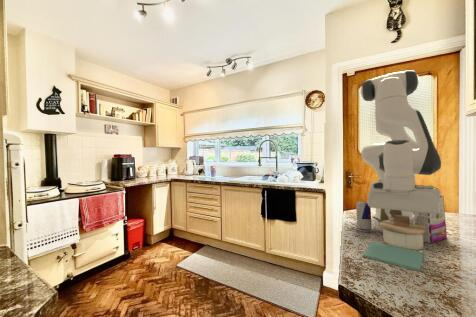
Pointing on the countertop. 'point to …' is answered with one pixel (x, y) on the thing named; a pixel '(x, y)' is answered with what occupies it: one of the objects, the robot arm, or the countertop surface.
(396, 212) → the squeeze bottle
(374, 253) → the rubber mat
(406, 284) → the countertop surface
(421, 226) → the oak lid
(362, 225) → the energy drink
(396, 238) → the ceramic bowl
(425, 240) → the candy bar box
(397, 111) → the robot arm
